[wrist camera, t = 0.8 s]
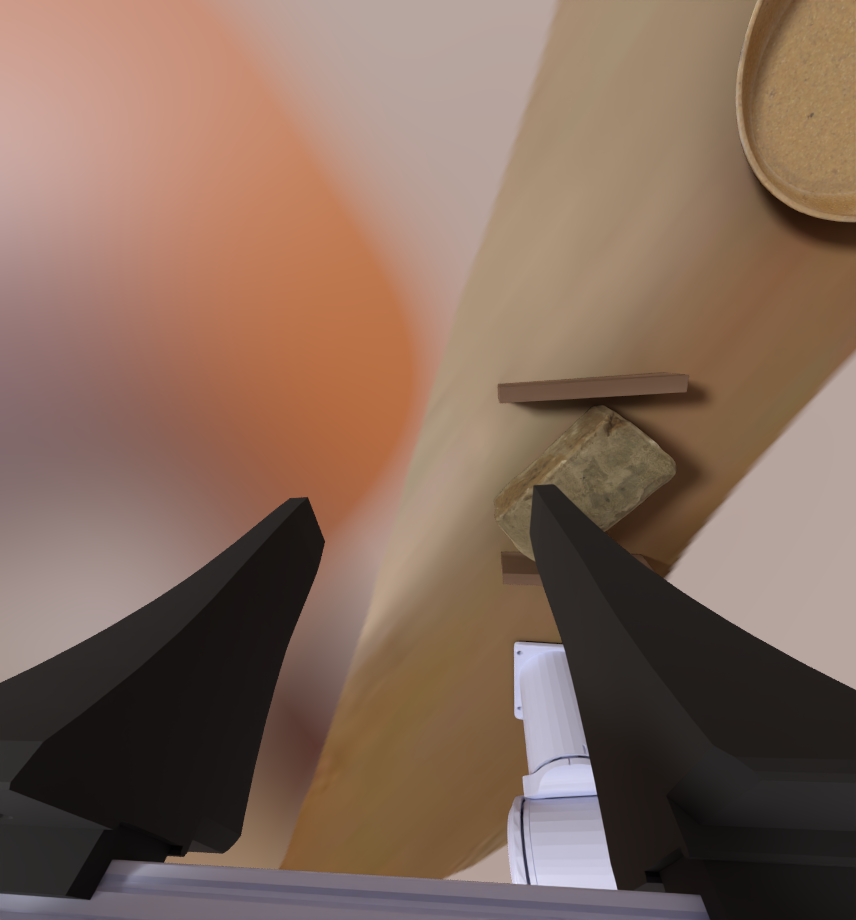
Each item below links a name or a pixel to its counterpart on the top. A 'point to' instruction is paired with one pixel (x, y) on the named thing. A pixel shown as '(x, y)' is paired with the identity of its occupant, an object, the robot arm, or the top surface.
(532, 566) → the chute
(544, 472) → the stone block
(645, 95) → the top surface
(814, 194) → the plant saucer
